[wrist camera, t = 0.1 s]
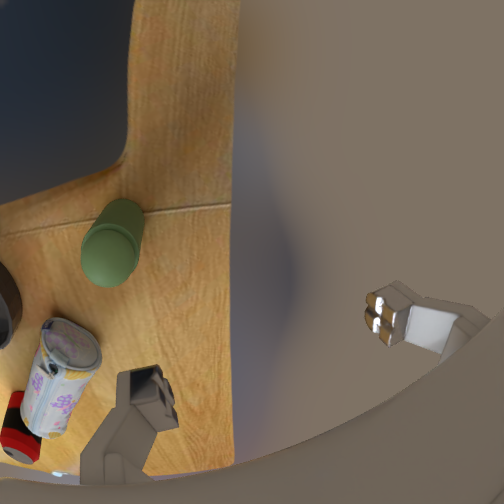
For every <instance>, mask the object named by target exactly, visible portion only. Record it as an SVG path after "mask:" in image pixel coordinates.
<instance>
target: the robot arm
mask: <svg viewBox="0 0 504 504" xmlns="http://www.w3.org/2000/svg"><path fill="white" fill-rule="evenodd" d="M366 303H367V304H368V307H367V308H366V310H365V321H366V324H367V325H368V327H369V329H370V330H371V331H373V332H376V333H379V338H380V339H381V340H382V341H383V343H385V344H386V345H387V346H388V347H391V346H393V345H395V344H397V343H398V342H400V341H402V340H404V339H405V341H408V342H411V343H413V344H416V345H418V346H421V347H423V348H426V349H429V350H431V351H434V352H437V353H440V354H442V355H441V357H440V360H439V363H438V366H437V367H435V368H434V369H432V370H431V371H430V372H428V373H427V374H426V375H424V376H423V377H421V378H420V379H418V380H417V381H415V382H414V383H412V384H411V385H409V386H408V387H406V388H405V389H403V390H402V391H401V392H399V393H397V394H395V395H394V396H393V397H391V398H389V399H387V400H386V401H384V402H382V403H380V404H379V405H377V406H375V407H373V408H372V409H370V410H368V411H366V412H364V413H363V414H361V415H359V416H357V417H355V418H353V419H351V420H349V421H348V422H345V423H343V424H341V425H340V426H337V427H335V428H333V429H331V430H329V431H327V432H324V433H322V434H320V435H318V436H315V437H313V438H311V439H308V440H306V441H304V442H301V443H299V444H296V445H294V446H291V447H288V448H286V449H283V450H280V451H278V452H275V453H272V454H269V455H266V456H263V457H260V458H257V459H254V460H250V461H248V462H244V463H240V464H237V465H233V466H229V467H226V468H222V469H218V470H213V471H209V472H205V473H200V474H195V475H191V476H185V477H179V478H173V479H167V480H159V481H154V480H153V479H152V478H150V477H149V476H148V475H146V474H145V473H144V472H142V469H143V466H144V464H145V462H146V459H147V457H148V455H149V452H150V450H151V448H152V445H153V443H154V440H155V438H156V436H157V432H161V431H165V430H170V429H174V428H178V427H179V424H178V418H177V412H176V411H175V409H174V408H173V405H174V404H175V400H174V395H173V392H172V389H171V386H170V384H169V382H168V380H167V379H166V378H163V372H162V370H161V368H160V366H159V365H157V364H156V365H151V366H147V367H142V368H137V369H132V370H129V371H123V372H119V373H118V375H117V387H116V408H112V409H111V411H110V412H109V414H108V415H107V416H106V418H105V419H104V421H103V422H102V424H101V425H100V426H99V428H98V429H97V431H96V432H95V434H94V435H93V437H92V438H91V439H90V441H89V442H88V444H87V445H86V447H85V448H84V450H83V451H82V453H81V454H80V485H69V484H54V483H44V482H36V481H28V480H22V479H16V478H11V477H2V478H0V504H504V308H503V309H502V310H501V311H500V312H499V313H498V314H497V315H496V316H495V317H494V318H493V319H492V320H491V319H489V318H488V317H487V316H485V315H484V314H483V313H481V312H480V311H478V310H477V309H476V308H474V307H473V306H470V305H464V304H459V303H454V302H449V301H444V300H439V299H434V298H429V297H425V298H422V297H421V296H420V295H418V294H417V293H416V292H414V291H413V290H411V289H410V288H409V287H407V286H406V285H404V284H403V283H402V282H400V281H394V282H392V283H390V284H388V285H386V286H384V287H381V288H379V289H377V290H375V291H373V292H370V293H368V294H367V296H366Z"/></svg>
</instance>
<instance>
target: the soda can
mask: <svg viewBox="0 0 504 504" xmlns="http://www.w3.org/2000/svg"><path fill="white" fill-rule="evenodd" d="M24 393H25V392H14V393H13V394H12V395H11V397H10V401H9V404H8V407H7V411H6V414H5V418H4V422H3V426H2V430H1V434H0V443H1V445H2V447H3V450H4V452H5V453H6V454H7V455H9V456H10V457H12V458H13V459H15V460H17V461H19V462H22V463H25V464H33V463H34V462H35V461H37V460H38V459H39V456H40V448H41V441H42V437H39V436H37V435H36V434H33V433H32V432H31V431H30V430H29V429H28V427H27V426H26V425H25V423H24V421H23V420H22V417H21V413H20V407H21V403H22V400H23V398H24Z"/></svg>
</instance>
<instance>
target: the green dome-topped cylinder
mask: <svg viewBox="0 0 504 504" xmlns="http://www.w3.org/2000/svg"><path fill="white" fill-rule="evenodd" d="M143 229H144V215H143V212H142V210H141V209H140V207H139V206H138V205H137V204H136V203H134V202H133V201H131V200H128V199H117V200H114V201H112V202H110V203H109V204H108V205H107V206H106V207H105V209H104V210H103V211H102V213H101V214H100V215H99V217H98V218H97V219H96V221H95V222H94V224H93V225H92V227H91V228H90V229H89V231H88V232H87V234H86V235H85V237H84V239H83V242H82V246H81V266H82V269H83V271H84V273H85V275H86V276H87V278H88V279H89V280H90V281H91V282H93V283H94V284H96V285H98V286H101V287H107V288H109V287H115V286H118V285H120V284H122V283H123V282H124V281H125V280H127V278H128V277H129V276H130V274H131V273H132V272H133V271H134V269H135V268H136V266H137V264H138V260H139V254H140V247H141V241H142V235H143Z"/></svg>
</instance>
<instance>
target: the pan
mask: <svg viewBox="0 0 504 504" xmlns="http://www.w3.org/2000/svg"><path fill="white" fill-rule="evenodd" d="M21 317H22V303H21V298H20V294H19V291H18V289H17V286H16V284H15V282H14V280H13V278H12V277H11V275H10V274H9V272H8V271H7V269H6V268H5V267H4V266H3V265H2V264H1V262H0V349H4V348H5V347H6V346H7V345H8V344H9V343H10V341H11V339H12V337H13V335H14V333H15V332H16V330H17V328H18V325H19V323H20V321H21Z"/></svg>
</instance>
